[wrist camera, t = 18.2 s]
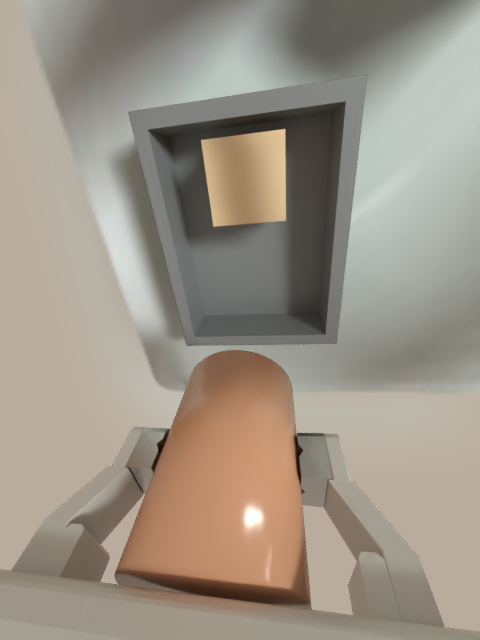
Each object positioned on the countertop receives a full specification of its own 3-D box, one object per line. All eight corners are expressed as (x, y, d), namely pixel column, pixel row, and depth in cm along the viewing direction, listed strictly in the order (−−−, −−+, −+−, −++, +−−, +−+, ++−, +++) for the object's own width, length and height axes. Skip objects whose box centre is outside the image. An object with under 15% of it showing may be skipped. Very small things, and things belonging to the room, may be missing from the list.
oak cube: (282, 136, 19) (285, 129, 15) (283, 209, 21) (285, 220, 17) (216, 145, 20) (200, 140, 15) (224, 214, 22) (213, 226, 18)
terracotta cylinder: (306, 363, 11) (344, 592, 5) (277, 432, 14) (281, 635, 8) (193, 340, 11) (104, 542, 5) (186, 413, 14) (121, 601, 8)
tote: (345, 95, 18) (367, 74, 14) (326, 315, 27) (336, 343, 23) (158, 123, 20) (128, 111, 16) (199, 319, 29) (186, 345, 25)
